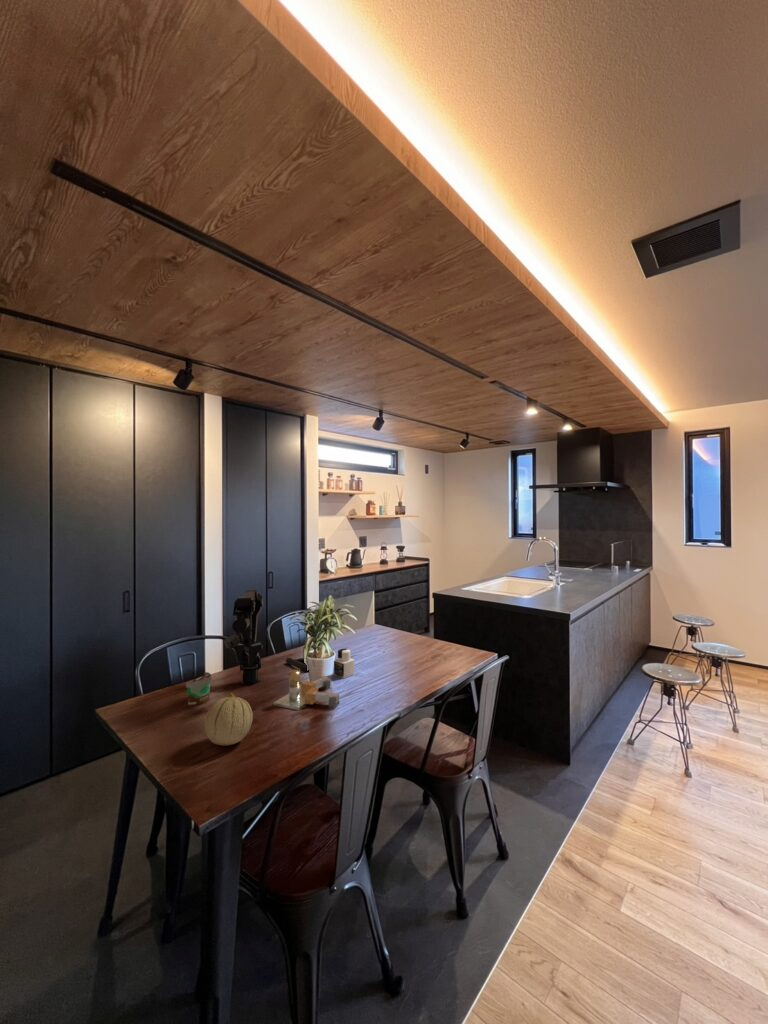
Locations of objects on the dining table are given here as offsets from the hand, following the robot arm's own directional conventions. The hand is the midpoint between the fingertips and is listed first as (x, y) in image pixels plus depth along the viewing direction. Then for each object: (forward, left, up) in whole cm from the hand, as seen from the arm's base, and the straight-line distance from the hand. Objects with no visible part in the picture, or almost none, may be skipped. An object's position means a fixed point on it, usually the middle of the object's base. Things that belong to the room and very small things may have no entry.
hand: (244, 664), depth 174 cm
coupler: (-3, +24, -12) cm, 27 cm away
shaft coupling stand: (-9, +30, -13) cm, 34 cm away
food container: (+12, -11, -13) cm, 21 cm away
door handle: (-42, +2, -14) cm, 44 cm away
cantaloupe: (+31, +24, -13) cm, 42 cm away
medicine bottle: (-37, +27, -13) cm, 48 cm away
